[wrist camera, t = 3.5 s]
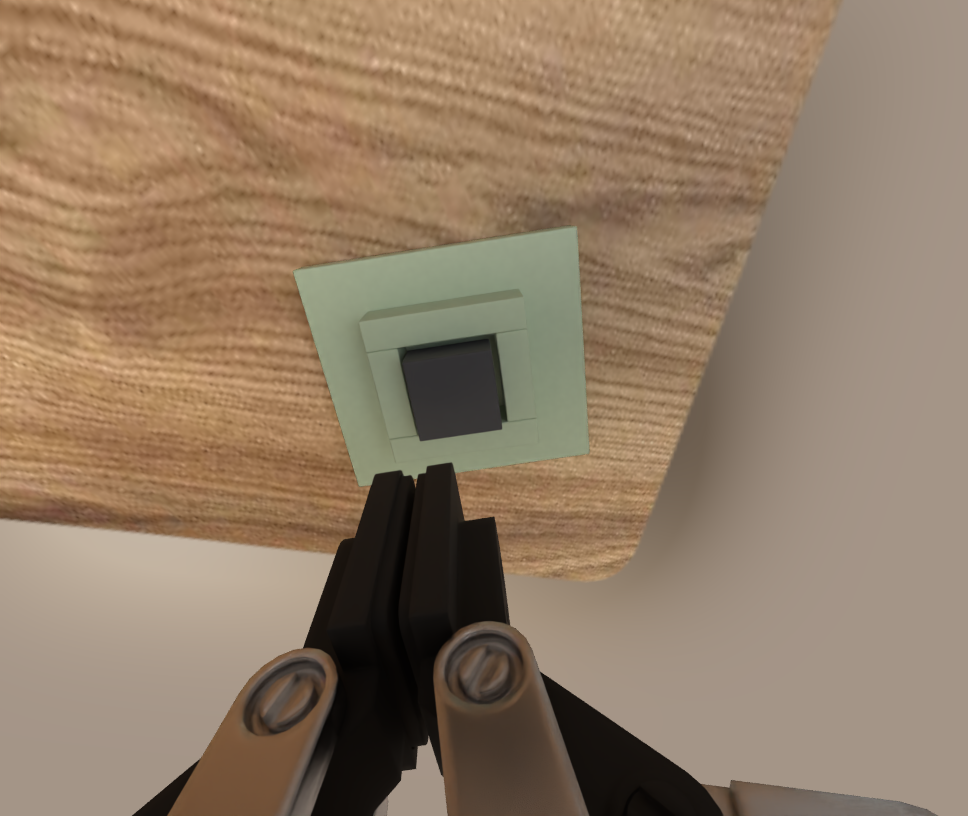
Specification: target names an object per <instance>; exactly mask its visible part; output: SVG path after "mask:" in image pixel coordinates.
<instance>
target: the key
mask: <svg viewBox="0 0 968 816" xmlns="http://www.w3.org/2000/svg"><path fill="white" fill-rule="evenodd" d="M402 366H403V370H404V374H405V379H406V383H407V387H408V392H409V396H410V400H411V405H412V409H413V413H414V418H415V422H416V426H417V431H418V435H419V440H420V441H427V440H434V439H441V438H448V437H455V436H462V435H469V434H475V433H482V432H489V431H496V430H502V421H501V414H500V407H499V400H498V393H497V386H496V379H495V372H494V365H493V358H492V351H491V345H490V340H489V339H482V340H476V341H469V342H462V343H456V344H449V345H442V346H436V347H429V348H423V349H416V350H409V351H407V353H406V355H405V358H404V360H403V363H402Z"/></svg>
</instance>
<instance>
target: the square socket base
mask: <svg viewBox="0 0 968 816" xmlns="http://www.w3.org/2000/svg"><path fill="white" fill-rule="evenodd" d="M293 274H294V277H295V280H296V283H297V287H298V290H299V293H300V297H301V300H302V303H303V306H304V310H305V313H306V316H307V319H308V323H309V326H310V329H311V332H312V336H313V339H314V342H315V345H316V349H317V352H318V355H319V358H320V362H321V365H322V368H323V371H324V375H325V378H326V381H327V384H328V388H329V391H330V394H331V397H332V401H333V404H334V407H335V410H336V414H337V417H338V420H339V424H340V427H341V430H342V433H343V437H344V440H345V443H346V446H347V450H348V453H349V456H350V459H351V463H352V466H353V469H354V472H355V476H356V479H357V482H358V485H359V487H362V486H369V485H372V481H373V478H374V476H375V474H378V473H384V472H391V471H397V470H401V471H402V472H403V474H404V476H408V475H412V477H413V479H417V477H418V474H421V473H426V468H427V466H430V465H437V464H443V463H450V462H452V463H453V466H454V471H455V473H459V472H466V471H473V470H480V469H487V468H494V467H501V466H508V465H515V464H522V463H529V462H536V461H542V460H549V459H556V458H563V457H570V456H577V455H584V454H589V453H590V451H589V433H588V415H587V397H586V379H585V361H584V343H583V325H582V307H581V289H580V271H579V253H578V235H577V227H576V226H571V225H567V226H561V227H554V228H548V229H542V230H535V231H529V232H522V233H516V234H510V235H503V236H497V237H491V238H484V239H478V240H471V241H465V242H459V243H452V244H446V245H439V246H433V247H427V248H420V249H414V250H407V251H401V252H395V253H388V254H382V255H375V256H369V257H363V258H356V259H350V260H343V261H337V262H331V263H324V264H318V265H312V266H305V267H301V268H299V269H296V270H294V271H293ZM482 339H489V340H490V345H491V351H492V358H493V365H494V372H495V379H496V386H497V393H498V400H499V407H500V414H501V421H502V430H496V431H489V432H482V433H475V434H469V435H462V436H455V437H448V438H441V439H434V440H427V441H420V440H419V435H418V431H417V426H416V422H415V418H414V413H413V409H412V405H411V400H410V396H409V392H408V387H407V383H406V379H405V374H404V370H403V366H402V363H403V360H404V358H405V355H406V353H407V351H409V350H416V349H423V348H429V347H436V346H442V345H449V344H456V343H462V342H469V341H476V340H482Z"/></svg>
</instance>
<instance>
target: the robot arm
mask: <svg viewBox="0 0 968 816" xmlns="http://www.w3.org/2000/svg"><path fill="white" fill-rule="evenodd" d="M428 735H429V738H430V741H431V744H432V747H433V751H434V754H435V757H436V760H437V763H438V766H439V769H440V772H441V775H442V776H443V777H444V784H445V795H446V803H447V813H448V816H937V815H936V814H934V813H932V812H931V811H929V810H927V809H923V808H920V807H916V806H913V805H910V804H907V803H903V802H898V801H891V800H883V799H875V798H868V797H860V796H852V795H844V794H836V793H829V792H821V791H813V790H805V789H796V788H789V787H781V786H774V785H766V784H758V783H750V782H742V781H734V780H731V782H730V788H727V787H720V786H712V785H705V784H700V783H699V782H698V781H697V780H695V779H694V778H693V777H692V776H691V775H690V774H689V773H687V772H686V771H685V770H683V769H681V768H680V767H679V766H677V765H676V764H674V763H673V762H671V761H670V760H669V759H667V758H665V757H664V756H663V755H661V754H660V753H658V752H657V751H655V750H654V749H652V748H651V747H650V746H648V745H647V744H645V743H643V742H642V741H641V740H639V739H638V738H636V737H635V736H633V735H632V734H631V733H629V732H628V731H626V730H625V729H623V728H622V727H620V726H619V725H617V724H616V723H615V722H613V721H612V720H610V719H609V718H607V717H606V716H604V715H603V714H601V713H600V712H598V711H597V710H595V709H594V708H593V707H591V706H589V705H588V704H587V703H585V702H584V701H582V700H581V699H579V698H578V697H577V696H575V695H574V694H572V693H571V692H569V691H568V690H566V689H565V688H563V687H562V686H560V685H559V684H558V683H556V682H555V681H553V680H552V679H550V678H549V677H547V676H546V675H544V674H543V673H541V672H540V671H539V668H538V665H537V662H536V659H535V656H534V654H533V650H532V648H531V647H530V645H529V643H528V641H527V639H526V638H525V637H524V636H523V635H522V634H521V633H520V632H519V631H518V630H517V629H516V628H513V627H511V626H510V620H509V613H508V604H507V596H506V588H505V581H504V573H503V566H502V559H501V553H500V547H499V540H498V534H497V528H496V523H495V518H494V517H489V518H482V519H476V520H469V521H464V516H463V511H462V506H461V501H460V496H459V491H458V486H457V481H456V476H455V471H454V466H453V463H452V462H450V463H443V464H437V465H430V466H427V468H426V473H421V474H418V477H417V484H416V488H415V484H414V480H413V477H412V475H408V476H404V474H403V472H402V471H401V470H397V471H391V472H384V473H378V474H375V476H374V478H373V481H372V485H371V488H370V491H369V494H368V497H367V501H366V504H365V507H364V510H363V513H362V517H361V520H360V523H359V526H358V530H357V533H356V536H355V538H350V539H344V540H343V541H341V543H340V545H339V547H338V550H337V553H336V555H335V558H334V561H333V564H332V567H331V570H330V573H329V576H328V578H327V582H326V584H325V587H324V590H323V593H322V595H321V598H320V601H319V604H318V607H317V610H316V612H315V615H314V618H313V621H312V624H311V627H310V630H309V632H308V635H307V638H306V641H305V644H304V647H303V649H296V650H292V651H290V652H287V653H285V654H282V655H280V656H278V657H276V658H275V659H273V660H272V661H270V662H269V663H267V664H265V665H264V666H263V667H262V668H261V669H260V670H259V671H258V672H256V673H255V674H254V675H253V676H252V677H251V678H250V679H249V681H248V682H247V683H246V685H245V686H244V687H243V689H242V690H241V691H240V693H239V694H238V696H237V698H236V700H235V701H234V703H233V705H232V706H231V708H230V710H229V711H228V713H227V715H226V717H225V718H224V720H223V722H222V723H221V725H220V727H219V729H218V730H217V732H216V734H215V736H214V737H213V739H212V740H211V742H210V744H209V746H208V747H207V749H206V751H205V752H204V754H203V756H202V757H201V759H200V760H198V761H197V762H196V763H194V764H193V765H192V766H191V767H190V768H188V769H187V770H186V771H185V772H184V773H183V774H181V775H180V776H179V777H178V778H177V779H175V780H174V781H173V782H172V783H171V784H169V785H168V786H167V787H166V788H165V789H163V790H162V791H161V792H160V793H159V794H157V795H156V796H155V797H154V798H153V799H151V800H150V801H149V802H148V803H147V804H145V805H144V806H143V807H142V808H141V809H140V810H138V811H137V812H136V813H135V814H134V815H132V816H387V810H388V795H389V794H390V792H391V791H392V790H393V789H394V788H395V787H396V786H397V784H398V783H399V782H400V781H401V774H402V771H404V770H412V769H416V762H417V749H418V746H421V745H426V744H427V742H428Z"/></svg>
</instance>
